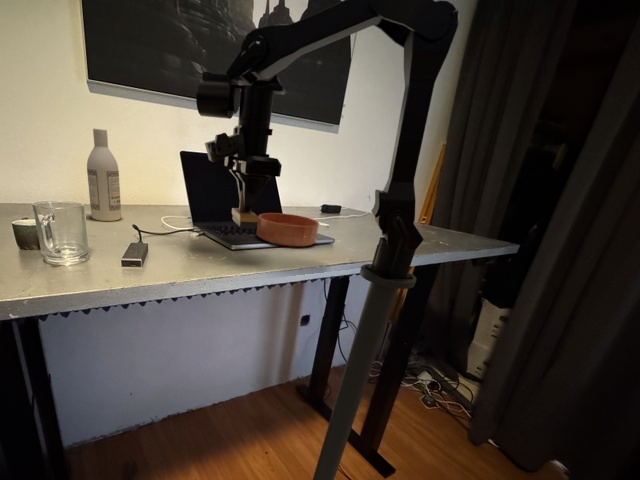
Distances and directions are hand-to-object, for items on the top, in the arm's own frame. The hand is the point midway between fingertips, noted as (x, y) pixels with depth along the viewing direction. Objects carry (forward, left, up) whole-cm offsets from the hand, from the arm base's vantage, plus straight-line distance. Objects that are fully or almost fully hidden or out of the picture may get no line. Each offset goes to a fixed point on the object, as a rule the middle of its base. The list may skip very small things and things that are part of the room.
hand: (245, 209), depth 65 cm
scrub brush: (0, 0, -3) cm, 3 cm away
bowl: (+10, -14, -8) cm, 19 cm away
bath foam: (+24, +29, -9) cm, 39 cm away
